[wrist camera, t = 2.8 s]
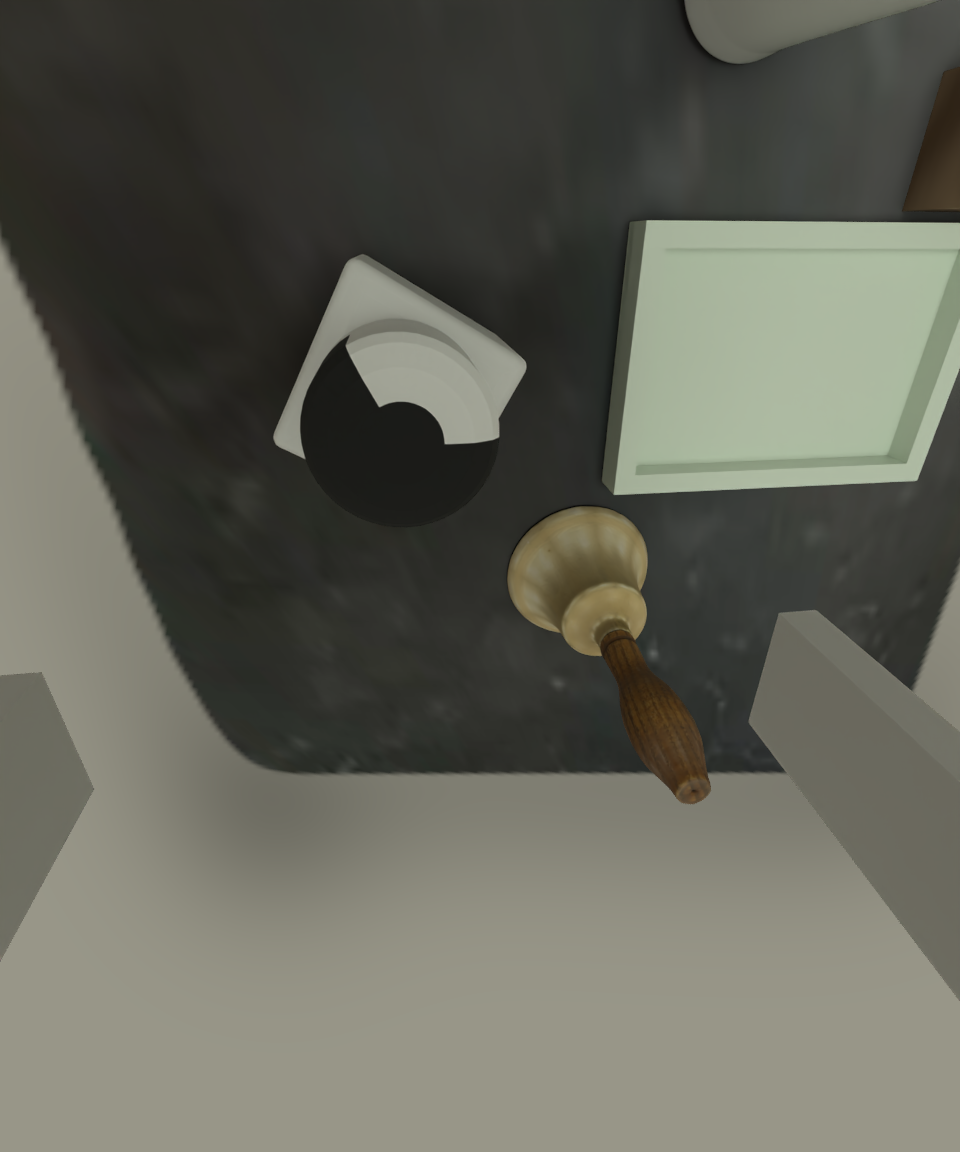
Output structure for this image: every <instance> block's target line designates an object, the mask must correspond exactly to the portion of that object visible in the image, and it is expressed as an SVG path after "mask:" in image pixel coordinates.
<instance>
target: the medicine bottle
mask: <svg viewBox="0 0 960 1152" xmlns="http://www.w3.org/2000/svg"><path fill="white" fill-rule="evenodd" d="M526 367H527V366H526V362H525V361H524V359H523V358H522V357H521V356H519V355H518V354H517V353H516V352H515V351H514V350H513V349H512V348H510V347H509V346H508V345H507V344H506V343H505V342H504V341H502V340H501V339H500V338H499V337H498V336H497V335H496V334H494V333H493V332H491V331H489V330H488V329H486V328H484V327H483V326H481V325H480V324H478V323H476V322H475V321H473V320H471V319H470V318H468V317H466V316H465V315H463V314H462V313H460V312H458V311H457V310H455V309H453V308H452V307H450V306H449V305H447V304H445V303H444V302H442V301H440V300H439V299H437V298H435V297H434V296H432V295H431V294H429V293H427V292H426V291H424V290H422V289H421V288H419V287H418V286H416V285H414V284H413V283H411V282H409V281H408V280H406V279H404V278H403V277H401V276H400V275H398V274H396V273H395V272H393V271H391V270H390V269H388V268H387V267H385V266H383V265H382V264H380V263H378V262H377V261H375V260H373V259H372V258H370V257H369V256H367V255H363V254H362V255H358V256H356V257H354V258H352V259H350V260H349V261H348V262H347V263H346V264H345V267H344V269H343V271H342V274H341V276H340V278H339V281H338V283H337V285H336V288H335V290H334V293H333V295H332V297H331V300H330V302H329V304H328V307H327V309H326V311H325V314H324V316H323V319H322V321H321V323H320V326H319V328H318V330H317V333H316V335H315V337H314V340H313V342H312V345H311V347H310V349H309V352H308V354H307V356H306V359H305V361H304V364H303V366H302V368H301V371H300V373H299V375H298V378H297V380H296V382H295V385H294V387H293V390H292V392H291V394H290V397H289V399H288V401H287V404H286V406H285V408H284V411H283V413H282V416H281V418H280V420H279V423H278V425H277V427H276V430H275V432H274V437H273V439H274V441H275V443H276V445H278V446H279V447H280V448H282V449H285V450H287V451H289V452H291V453H293V454H295V455H297V456H300V457H302V458H304V459H306V461H307V464H308V466H309V469H310V471H311V473H312V474H313V476H314V478H315V479H316V481H317V483H318V484H319V485H320V486H321V488H322V489H323V490H324V492H325V493H326V494H327V495H328V496H329V497H330V498H331V499H332V500H333V501H334V502H335V503H337V504H338V505H339V506H341V507H342V508H343V509H345V510H346V511H348V512H350V513H352V514H353V515H355V516H357V517H359V518H361V519H364V520H366V521H369V522H372V523H376V524H380V525H384V526H392V527H413V526H421V525H425V524H429V523H433V522H435V521H438V520H440V519H443V518H445V517H447V516H449V515H451V514H453V513H454V512H456V511H457V510H459V509H460V508H461V507H463V506H464V505H466V504H467V503H468V502H469V501H470V500H471V499H472V498H473V497H474V496H475V495H476V494H477V492H478V491H479V490H480V488H481V487H482V486H483V484H484V483H485V481H486V479H487V478H488V476H489V474H490V472H491V469H492V467H493V465H494V462H495V458H496V454H497V451H498V443H499V420H498V418H499V417H500V415H501V413H502V412H503V410H504V408H505V406H506V405H507V403H508V401H509V399H510V398H511V396H512V394H513V392H514V391H515V389H516V387H517V385H518V384H519V382H520V380H521V378H522V377H523V375H524V373H525V371H526Z"/></svg>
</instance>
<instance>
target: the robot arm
mask: <svg viewBox="0 0 960 1152" xmlns="http://www.w3.org/2000/svg"><path fill="white" fill-rule="evenodd" d="M749 724H750V725H751V726H752V728H753V729H754V730H755V732H756V733H757V734H758V736H759V737H760V738H761V740H762V741H763V742H764V743H765V745H766V746H767V747H768V749H769V750H770V751H771V753H772V754H773V755H774V757H775V758H776V759H777V761H778V762H779V763H780V765H781V766H782V767H783V769H784V770H785V771H786V773H787V774H788V775H789V776H790V778H791V779H792V780H793V782H794V783H795V784H796V786H797V787H798V788H799V790H800V791H801V792H802V793H803V795H804V796H805V798H806V799H807V800H808V802H809V803H810V804H811V805H812V807H813V808H814V809H815V811H816V812H817V813H818V815H819V816H820V817H821V819H822V820H823V821H824V823H825V824H826V825H827V827H828V828H829V829H830V831H831V832H832V833H833V835H834V836H835V837H836V838H837V840H838V841H839V842H840V844H841V845H842V846H843V848H844V849H845V850H846V852H847V853H848V854H849V856H850V857H851V858H852V860H853V861H854V862H855V864H856V865H857V866H858V868H859V869H860V870H861V871H862V873H863V874H864V875H865V877H866V878H867V879H868V881H869V882H870V883H871V884H872V886H873V887H874V889H875V890H876V891H877V892H878V894H879V895H880V896H881V898H882V899H883V900H884V902H885V903H886V904H887V906H888V907H889V908H890V910H891V911H892V912H893V914H894V915H895V916H896V918H897V919H898V920H899V921H900V923H901V924H902V926H903V927H904V928H905V929H906V931H907V932H908V933H909V935H910V936H911V937H912V939H913V940H914V941H915V943H916V944H917V945H918V947H919V948H920V949H921V951H922V952H923V953H924V955H925V956H926V957H927V958H928V960H929V961H930V962H931V964H932V965H933V966H934V968H935V969H936V970H937V971H938V973H939V974H940V976H941V977H942V978H943V980H944V981H945V982H946V983H947V985H948V986H949V988H950V989H951V990H952V991H953V993H954V994H955V995H956V997H957V998H958V999H959V1001H960V732H959V731H958V730H957V729H956V728H955V727H953V726H952V725H951V724H950V723H949V722H948V721H946V720H945V719H944V718H943V717H942V716H940V715H939V714H938V713H937V712H936V711H935V710H933V709H932V708H931V707H930V706H929V705H927V704H926V703H925V702H924V701H923V700H922V699H920V698H919V697H918V696H917V695H916V694H914V693H913V692H912V691H911V690H910V689H909V688H907V687H906V686H905V685H904V684H903V683H902V682H900V681H899V680H898V679H897V678H896V677H894V676H893V675H892V674H891V673H890V672H889V671H887V670H886V669H885V668H884V667H883V666H881V665H880V664H879V663H878V662H877V661H876V660H874V659H873V658H872V657H871V656H870V655H868V654H867V653H866V652H865V651H864V650H863V649H861V648H860V647H859V646H858V645H857V644H856V643H854V642H853V641H852V640H851V639H850V638H848V637H847V636H846V635H845V634H844V633H843V632H841V631H840V630H839V629H838V628H837V627H835V626H834V625H833V624H832V623H831V622H830V621H828V620H827V619H826V618H825V617H824V616H822V615H821V614H820V613H819V612H818V611H817V610H811V611H798V612H786V613H779V615H778V618H777V622H776V626H775V629H774V633H773V636H772V640H771V643H770V647H769V650H768V654H767V658H766V661H765V665H764V668H763V672H762V675H761V679H760V683H759V686H758V690H757V693H756V697H755V700H754V704H753V707H752V711H751V715H750V718H749ZM93 790H94V788H93V785H92V783H91V781H90V779H89V777H88V774H87V772H86V770H85V768H84V765H83V763H82V761H81V759H80V757H79V754H78V752H77V750H76V748H75V746H74V743H73V741H72V739H71V737H70V734H69V732H68V730H67V728H66V725H65V723H64V721H63V719H62V717H61V714H60V712H59V710H58V708H57V705H56V703H55V701H54V699H53V696H52V694H51V692H50V690H49V688H48V685H47V683H46V681H45V679H44V677H43V675H42V672H39V673H26V674H14V675H2V676H0V961H1V959H2V957H3V955H4V954H5V952H6V949H7V948H8V946H9V944H10V943H11V941H12V939H13V937H14V935H15V933H16V932H17V930H18V928H19V926H20V924H21V922H22V921H23V919H24V917H25V915H26V913H27V911H28V910H29V908H30V906H31V904H32V902H33V900H34V899H35V896H36V895H37V893H38V891H39V889H40V887H41V886H42V884H43V882H44V880H45V878H46V876H47V874H48V873H49V871H50V869H51V867H52V865H53V864H54V862H55V860H56V858H57V856H58V854H59V853H60V851H61V849H62V847H63V845H64V843H65V842H66V840H67V838H68V836H69V834H70V832H71V830H72V829H73V827H74V825H75V823H76V821H77V819H78V818H79V816H80V814H81V812H82V810H83V808H84V807H85V805H86V803H87V801H88V799H89V797H90V796H91V793H92V792H93Z"/></svg>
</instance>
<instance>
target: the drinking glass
mask: <svg viewBox="0 0 960 1152" xmlns="http://www.w3.org/2000/svg"><path fill="white" fill-rule="evenodd" d="M938 1H942V0H684V3H685V9H686V14H687V18H688V21H689V24H690V27H691V29H692V31H693V33H694V35H695V37H696V39H697V40H698V42H699V43H700V44H701V45H702V47H703V48H704V49H705V50H706V51H707V52H708V53H710V54H711V55H712V56H714V57H715V58H717V59H719V60H721V61H724V62H728V63H732V64H747V63H752V62H756V61H759V60H762V59H764V58H766V57H768V56H771V55H773V54H775V53H777V52H779V51H781V50H783V49H785V48H788V47H792V46H795V45H798V44H801V43H804V42H807V41H810V40H813V39H817V38H820V37H823V36H826V35H829V34H833V33H836V32H839V31H843V30H846V29H849V28H852V27H856V26H859V25H862V24H866V23H869V22H872V21H876V20H879V19H882V18H886V17H889V16H892V15H896V14H899V13H902V12H906V11H909V10H912V9H916V8H919V7H922V6H926V5H929V4H932V3H935V2H938Z"/></svg>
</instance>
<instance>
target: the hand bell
mask: <svg viewBox="0 0 960 1152" xmlns="http://www.w3.org/2000/svg"><path fill="white" fill-rule="evenodd" d="M647 560H648V559H647V549H646V545H645V542H644V539H643V537H642V535H641V533H640V532H639V531H638V529H637V528H636V527H635V525H634V524H633V523H632V522H631V521H630V520H628V519H627V518H626V517H624V516H623V515H621V514H619V513H617V512H615V511H613V510H610V509H607V508H602V507H593V506H579V507H573V508H569V509H566V510H562V511H559V512H557V513H554V514H552V515H550V516H548V517H547V518H545V519H543V520H542V521H540V522H539V523H538V524H536V525H535V526H534V527H532V528H531V529H530V530H529V531H528V532H527V533H526V534H525V536H524V537H523V538H522V539H521V540H520V542H519V544H518V545H517V547H516V548H515V550H514V552H513V554H512V557H511V560H510V563H509V568H508V576H507V583H508V590H509V594H510V597H511V599H512V601H513V603H514V605H515V607H516V608H517V609H518V611H519V612H520V613H521V614H522V615H523V616H524V617H525V618H526V619H528V620H529V621H530V622H532V623H534V624H535V625H537V626H540V627H542V628H544V629H547V630H550V631H555V632H561V634H562V635H563V637H564V638H565V640H566V641H567V643H568V644H569V645H570V646H571V647H572V648H574V649H575V650H577V651H578V652H580V653H583V654H586V655H591V656H603V658H604V659H605V661H606V663H607V665H608V666H609V668H610V670H611V672H612V673H613V675H614V677H615V679H616V681H617V684H618V687H619V695H620V708H621V714H622V718H623V722H624V725H625V728H626V731H627V733H628V736H629V738H630V740H631V743H632V745H633V747H634V748H635V750H636V752H637V754H638V755H639V757H640V758H641V760H642V761H643V762H644V764H645V765H646V766H647V767H648V768H649V769H650V770H651V771H652V772H653V773H654V774H655V775H656V776H657V777H658V778H659V779H660V780H661V781H662V782H663V783H664V784H666V785H667V786H668V787H669V789H670V790H671V791H672V792H673V794H674V795H675V797H676V798H677V799H678V800H679V801H680V802H682V803H685V804H695V803H697V802H699V801H702V800H703V799H704V798H706V796H708V794H709V793H710V791H711V786H710V781H709V778H708V774H707V770H706V764H705V757H704V751H703V745H702V740H701V736H700V734H699V731H698V728H697V726H696V724H695V721H694V720H693V718H692V716H691V714H690V713H689V711H688V710H687V708H686V707H685V705H684V704H683V702H682V701H681V700H680V698H679V697H678V696H677V695H676V694H675V692H674V691H673V690H672V689H671V688H670V687H669V686H668V685H667V684H666V683H664V682H663V681H662V680H661V679H659V678H658V677H657V676H655V675H654V674H653V673H652V672H651V671H650V669H649V668H648V667H647V665H646V663H645V661H644V659H643V657H642V654H641V652H640V650H639V648H638V647H637V645H636V642H635V639H636V638H637V637H638V636H639V634H640V633H641V631H642V629H643V627H644V625H645V621H646V615H647V610H646V605H645V601H644V599H643V597H642V595H641V592H640V590H641V588H642V585H643V583H644V580H645V577H646V572H647Z"/></svg>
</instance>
